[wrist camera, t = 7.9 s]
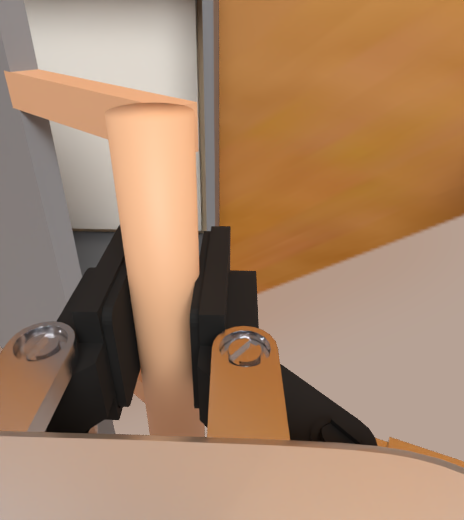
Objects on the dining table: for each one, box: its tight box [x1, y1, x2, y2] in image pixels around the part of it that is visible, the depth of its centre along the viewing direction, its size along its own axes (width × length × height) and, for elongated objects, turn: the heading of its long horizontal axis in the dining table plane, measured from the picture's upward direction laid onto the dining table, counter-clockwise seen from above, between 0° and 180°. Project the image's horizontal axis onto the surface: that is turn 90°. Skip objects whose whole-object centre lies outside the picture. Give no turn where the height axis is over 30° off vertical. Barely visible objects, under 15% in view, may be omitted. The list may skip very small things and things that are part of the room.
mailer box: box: [72, 0, 219, 276], centre depth 29 cm, size 20×24×8 cm
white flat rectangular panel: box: [24, 0, 202, 231], centre depth 32 cm, size 17×21×1 cm
